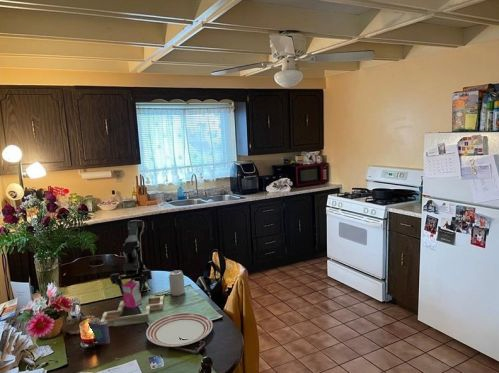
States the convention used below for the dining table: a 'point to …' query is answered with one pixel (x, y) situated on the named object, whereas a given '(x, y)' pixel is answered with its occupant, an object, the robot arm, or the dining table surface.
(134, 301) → the supplement box
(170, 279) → the can
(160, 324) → the dinner plate
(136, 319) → the trap lane
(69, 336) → the dining table surface
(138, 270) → the robot arm
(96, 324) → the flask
